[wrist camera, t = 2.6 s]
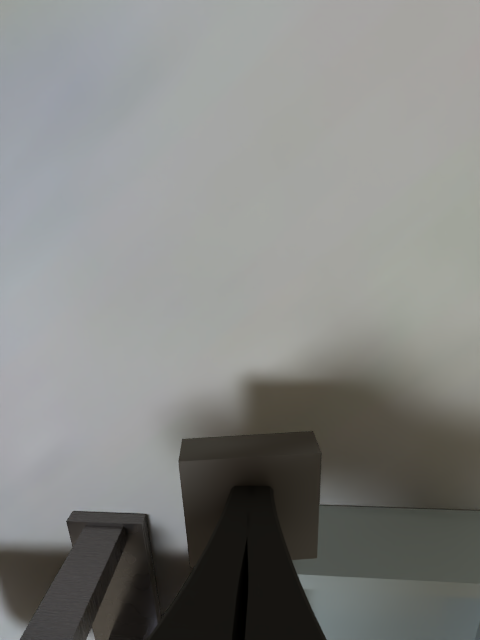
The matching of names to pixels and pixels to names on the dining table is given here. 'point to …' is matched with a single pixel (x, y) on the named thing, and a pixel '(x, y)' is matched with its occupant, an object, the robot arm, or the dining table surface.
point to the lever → (252, 484)
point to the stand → (101, 583)
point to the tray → (395, 574)
